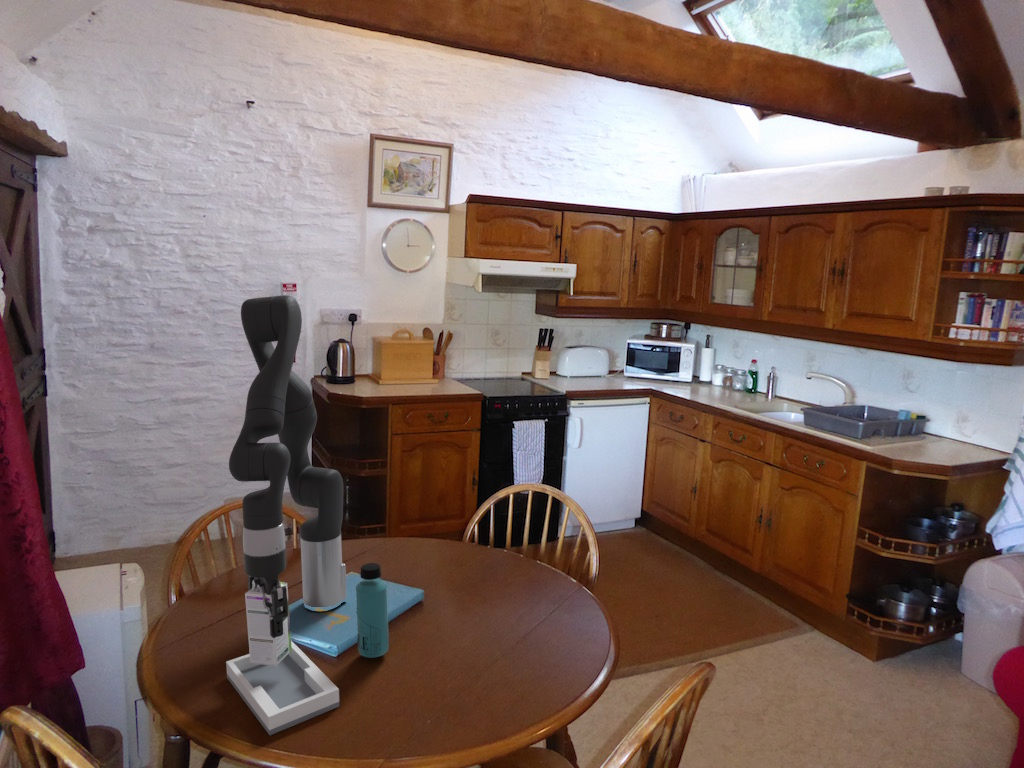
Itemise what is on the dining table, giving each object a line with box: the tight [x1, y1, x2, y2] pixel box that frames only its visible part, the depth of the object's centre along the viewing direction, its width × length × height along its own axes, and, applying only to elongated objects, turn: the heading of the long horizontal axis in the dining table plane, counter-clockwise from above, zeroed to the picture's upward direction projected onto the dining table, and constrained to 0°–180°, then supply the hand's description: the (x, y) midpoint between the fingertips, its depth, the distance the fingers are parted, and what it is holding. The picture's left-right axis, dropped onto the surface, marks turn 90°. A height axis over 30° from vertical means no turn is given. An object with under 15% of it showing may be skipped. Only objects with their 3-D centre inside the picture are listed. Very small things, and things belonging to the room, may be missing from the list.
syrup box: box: [244, 581, 292, 666], centre depth 137 cm, size 6×6×14 cm
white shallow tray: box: [225, 640, 340, 736], centre depth 135 cm, size 13×22×4 cm, turn 40°
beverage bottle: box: [355, 562, 390, 659], centre depth 146 cm, size 6×7×20 cm
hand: (268, 627), depth 137 cm, fingers closed on syrup box, 7 cm apart
